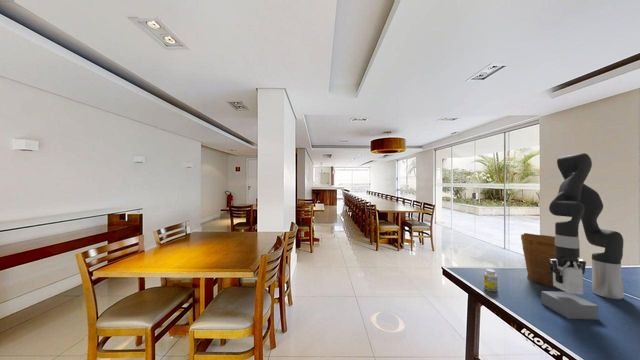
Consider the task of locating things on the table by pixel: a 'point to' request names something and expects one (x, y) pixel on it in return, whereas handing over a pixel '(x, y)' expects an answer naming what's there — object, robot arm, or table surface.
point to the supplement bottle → (490, 280)
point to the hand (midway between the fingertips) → (567, 282)
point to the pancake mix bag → (539, 257)
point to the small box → (570, 280)
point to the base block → (569, 305)
